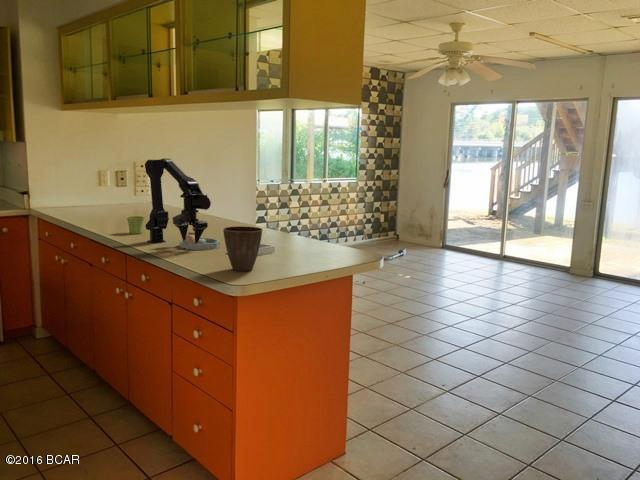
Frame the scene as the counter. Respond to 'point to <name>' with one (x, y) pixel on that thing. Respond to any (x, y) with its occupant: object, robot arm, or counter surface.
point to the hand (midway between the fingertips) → (190, 241)
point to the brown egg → (190, 239)
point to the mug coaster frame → (266, 249)
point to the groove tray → (201, 244)
